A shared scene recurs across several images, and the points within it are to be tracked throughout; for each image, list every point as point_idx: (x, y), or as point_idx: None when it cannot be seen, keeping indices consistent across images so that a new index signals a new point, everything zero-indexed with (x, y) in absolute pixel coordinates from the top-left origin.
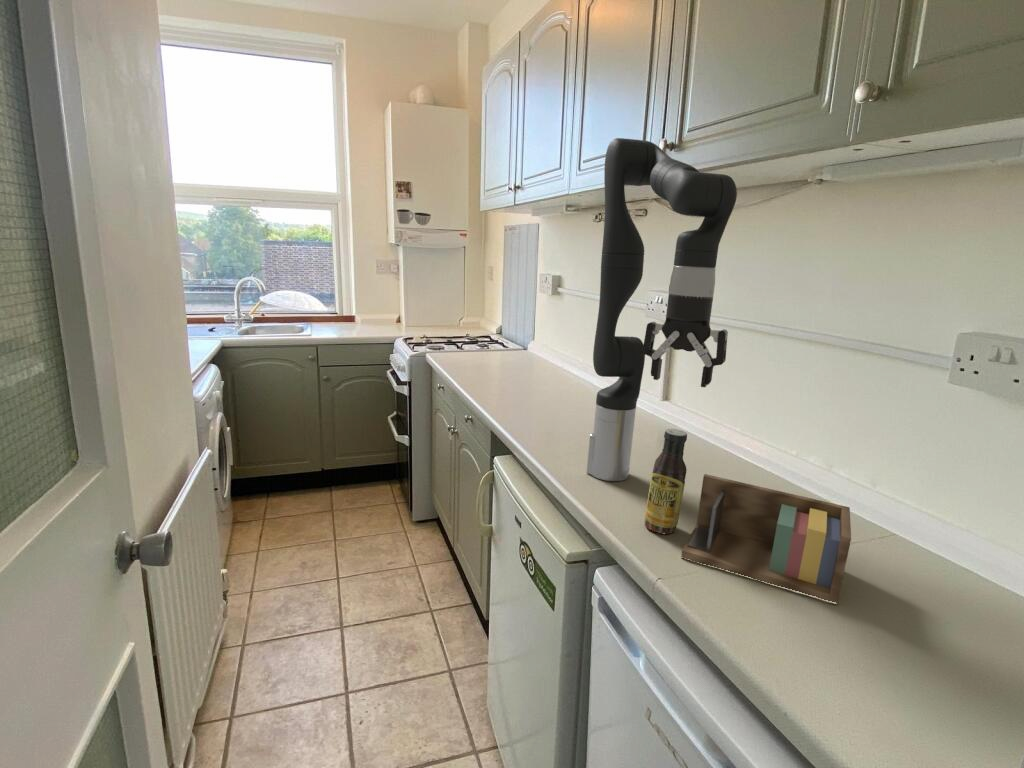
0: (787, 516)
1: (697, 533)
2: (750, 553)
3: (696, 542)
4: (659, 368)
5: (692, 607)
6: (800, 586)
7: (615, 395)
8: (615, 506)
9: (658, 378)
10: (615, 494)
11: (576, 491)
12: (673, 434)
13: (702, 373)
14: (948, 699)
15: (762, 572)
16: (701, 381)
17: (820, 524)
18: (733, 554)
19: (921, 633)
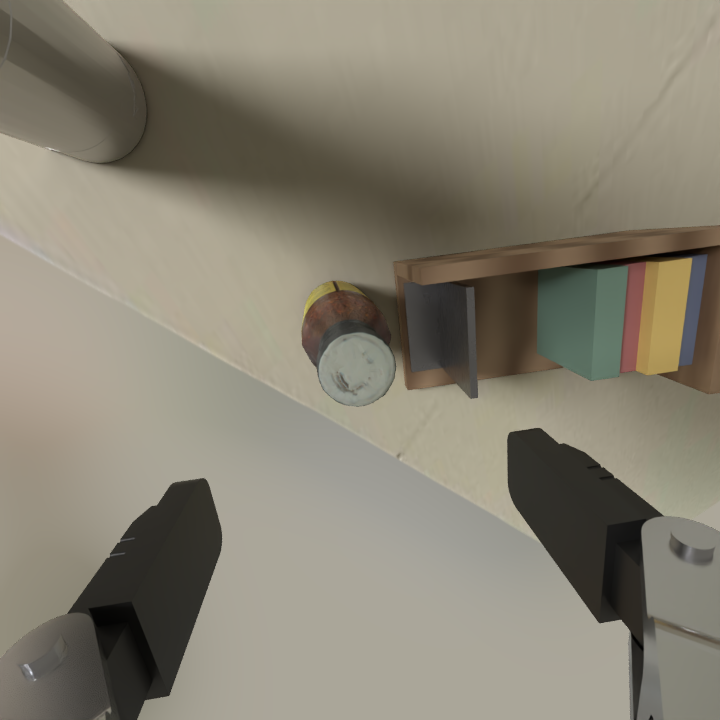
0: (609, 332)
1: (412, 318)
2: (504, 318)
3: (420, 353)
4: (187, 578)
5: (455, 483)
6: None
7: None
8: (222, 283)
9: (212, 509)
10: (185, 222)
11: (112, 275)
12: (361, 405)
13: (561, 569)
14: (704, 451)
15: (529, 366)
16: (528, 523)
17: (671, 337)
18: (481, 343)
19: None
